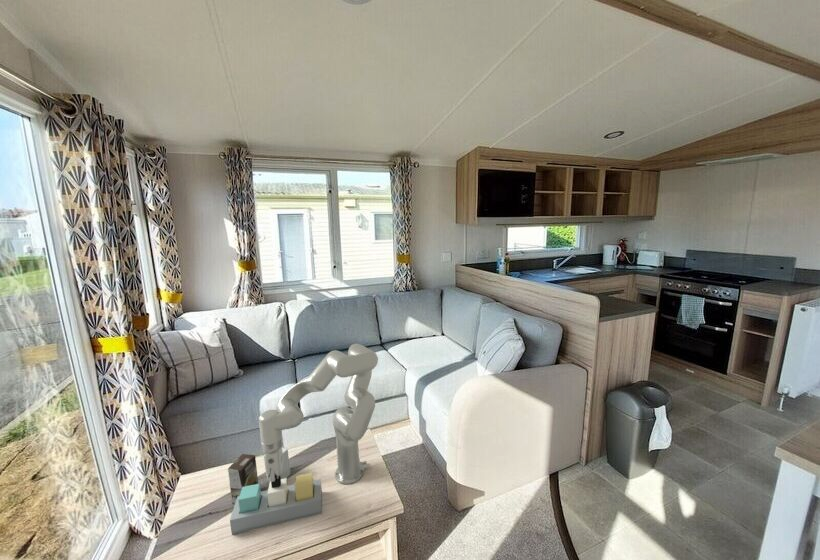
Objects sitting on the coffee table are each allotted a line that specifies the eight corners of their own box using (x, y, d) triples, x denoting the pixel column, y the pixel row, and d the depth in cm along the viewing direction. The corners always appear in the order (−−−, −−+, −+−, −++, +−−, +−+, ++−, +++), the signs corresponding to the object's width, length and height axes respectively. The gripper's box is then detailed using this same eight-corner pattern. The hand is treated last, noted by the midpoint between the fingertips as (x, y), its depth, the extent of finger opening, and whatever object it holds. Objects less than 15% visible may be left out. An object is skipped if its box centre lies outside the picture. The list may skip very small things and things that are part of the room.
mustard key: (313, 487, 134) (312, 472, 133) (313, 499, 128) (311, 484, 127) (297, 491, 133) (296, 476, 131) (296, 503, 127) (295, 487, 126)
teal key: (261, 498, 129) (259, 483, 128) (258, 512, 123) (256, 496, 122) (244, 502, 128) (242, 487, 127) (240, 516, 122) (238, 499, 121)
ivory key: (288, 493, 132) (286, 478, 131) (286, 505, 126) (284, 490, 125) (271, 496, 130) (269, 481, 129) (269, 509, 124) (267, 493, 123)
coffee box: (245, 505, 132) (240, 470, 129) (231, 503, 133) (226, 468, 131) (259, 487, 141) (255, 454, 138) (246, 485, 142) (242, 453, 139)
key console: (321, 491, 138) (320, 478, 137) (321, 513, 127) (320, 500, 126) (239, 509, 130) (237, 496, 129) (231, 534, 120) (229, 520, 119)
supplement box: (291, 473, 149) (288, 449, 146) (278, 485, 142) (275, 459, 140) (279, 469, 152) (276, 444, 149) (266, 480, 145) (263, 455, 143)
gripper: (280, 454, 117) (284, 498, 120) (285, 429, 132) (288, 469, 135) (257, 458, 116) (262, 503, 119) (265, 432, 130) (269, 473, 133)
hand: (276, 485), depth 127 cm, fingers closed
